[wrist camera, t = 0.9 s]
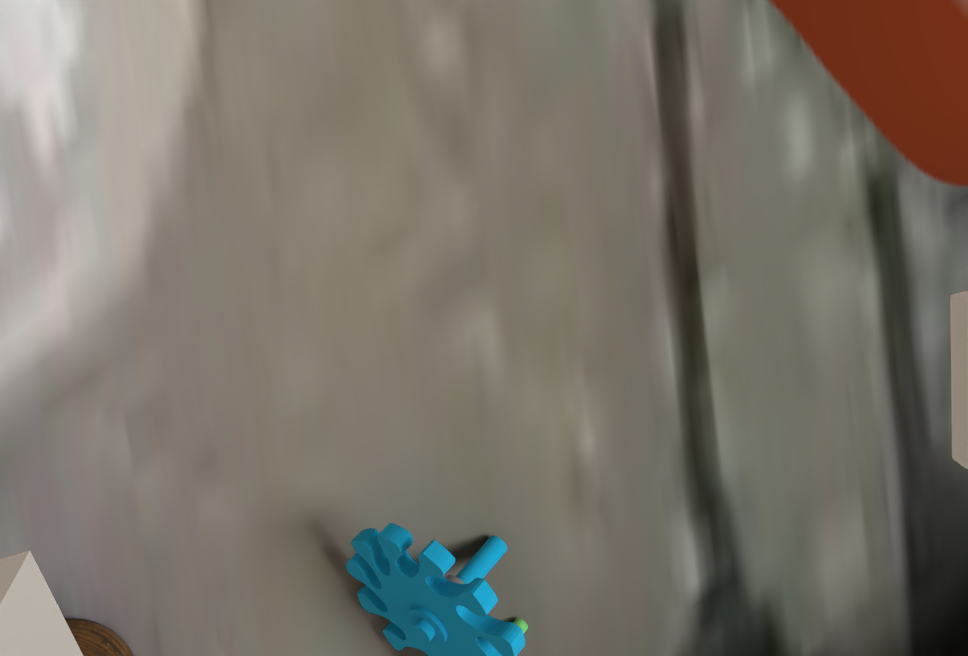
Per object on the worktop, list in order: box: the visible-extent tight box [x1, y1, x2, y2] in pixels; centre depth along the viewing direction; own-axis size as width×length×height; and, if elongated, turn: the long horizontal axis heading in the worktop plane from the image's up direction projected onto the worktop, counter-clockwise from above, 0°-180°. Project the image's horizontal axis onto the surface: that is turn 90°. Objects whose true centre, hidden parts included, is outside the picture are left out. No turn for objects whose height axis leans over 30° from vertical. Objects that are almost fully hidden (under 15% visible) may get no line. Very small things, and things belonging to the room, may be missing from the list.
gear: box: [346, 523, 528, 656], centre depth 40 cm, size 11×6×10 cm
